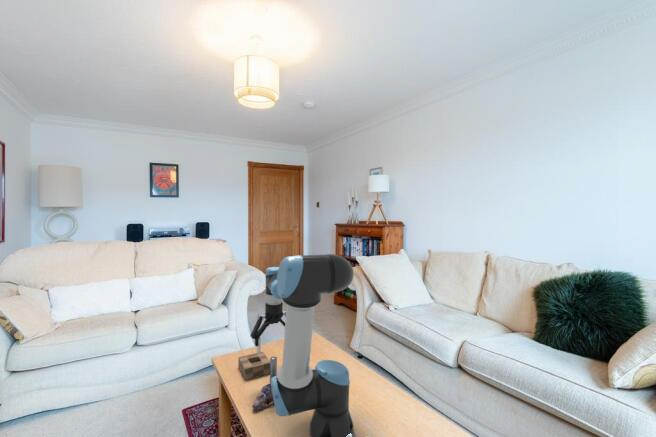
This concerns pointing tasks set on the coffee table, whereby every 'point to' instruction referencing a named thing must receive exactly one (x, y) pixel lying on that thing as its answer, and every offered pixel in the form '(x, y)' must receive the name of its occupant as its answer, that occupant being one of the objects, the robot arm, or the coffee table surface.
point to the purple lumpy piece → (264, 397)
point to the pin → (273, 367)
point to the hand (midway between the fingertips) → (273, 349)
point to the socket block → (254, 365)
